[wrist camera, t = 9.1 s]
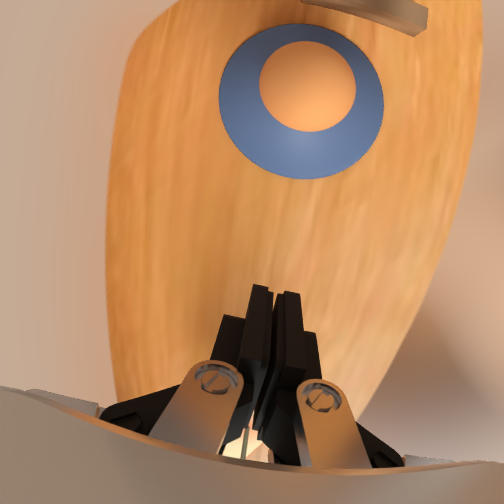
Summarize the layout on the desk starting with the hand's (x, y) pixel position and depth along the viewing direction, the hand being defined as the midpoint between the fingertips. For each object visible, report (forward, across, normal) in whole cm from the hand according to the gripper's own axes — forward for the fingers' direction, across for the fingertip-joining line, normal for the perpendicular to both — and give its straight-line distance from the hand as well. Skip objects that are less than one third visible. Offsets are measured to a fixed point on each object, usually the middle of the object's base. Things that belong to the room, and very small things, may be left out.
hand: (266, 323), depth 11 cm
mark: (+13, 0, -10) cm, 16 cm away
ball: (+10, 0, -10) cm, 14 cm away
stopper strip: (+13, -3, -19) cm, 23 cm away
